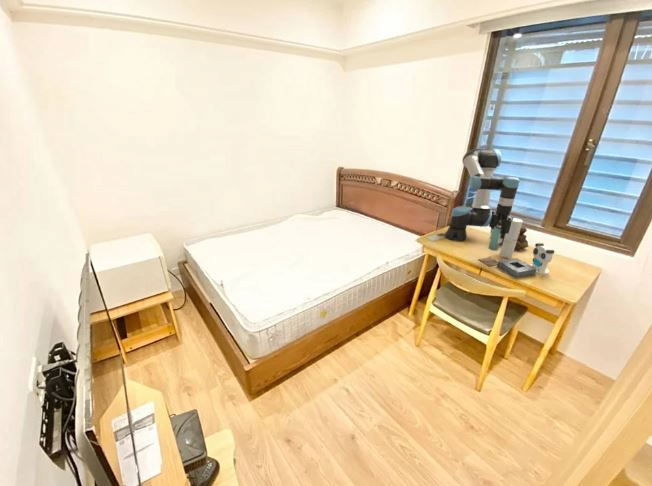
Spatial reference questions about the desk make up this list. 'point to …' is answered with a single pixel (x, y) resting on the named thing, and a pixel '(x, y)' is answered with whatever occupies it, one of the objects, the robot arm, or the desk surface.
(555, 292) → the desk surface
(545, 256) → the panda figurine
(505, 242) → the cylindrical container
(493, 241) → the teal cylinder
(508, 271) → the housing
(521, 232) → the brown lumpy upright piece
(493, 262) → the pad
